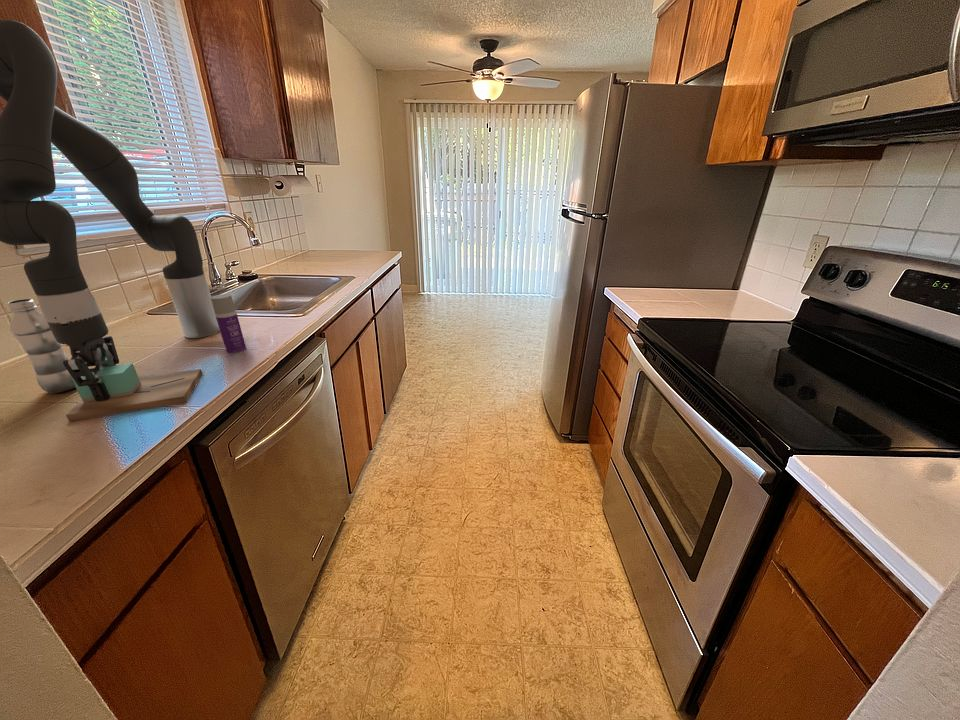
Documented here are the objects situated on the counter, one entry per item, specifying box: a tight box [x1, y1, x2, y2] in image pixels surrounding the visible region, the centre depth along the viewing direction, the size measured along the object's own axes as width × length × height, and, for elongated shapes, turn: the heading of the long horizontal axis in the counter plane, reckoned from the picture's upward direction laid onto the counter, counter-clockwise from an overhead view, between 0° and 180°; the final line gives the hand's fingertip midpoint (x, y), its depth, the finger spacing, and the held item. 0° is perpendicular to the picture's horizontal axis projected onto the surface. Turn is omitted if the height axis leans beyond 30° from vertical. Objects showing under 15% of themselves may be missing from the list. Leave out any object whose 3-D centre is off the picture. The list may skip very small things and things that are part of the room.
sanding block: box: [73, 362, 141, 402], centre depth 81 cm, size 5×8×5 cm, turn 111°
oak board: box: [65, 368, 204, 422], centre depth 84 cm, size 14×19×2 cm
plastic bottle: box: [7, 298, 76, 394], centre depth 83 cm, size 6×7×20 cm
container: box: [211, 293, 247, 356], centre depth 103 cm, size 5×5×15 cm
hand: (109, 393), depth 82 cm, fingers closed on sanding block, 5 cm apart
